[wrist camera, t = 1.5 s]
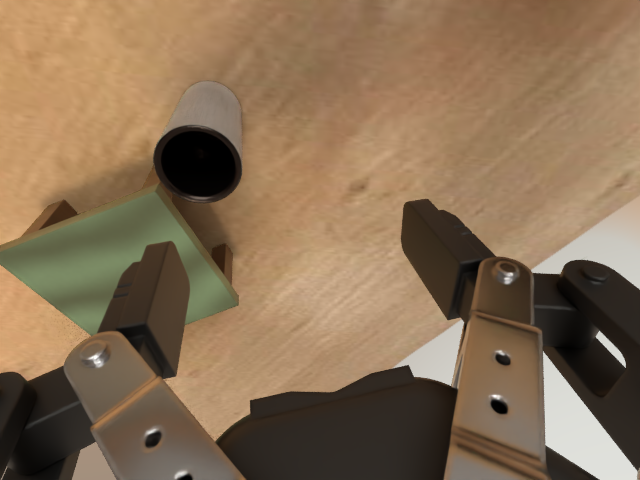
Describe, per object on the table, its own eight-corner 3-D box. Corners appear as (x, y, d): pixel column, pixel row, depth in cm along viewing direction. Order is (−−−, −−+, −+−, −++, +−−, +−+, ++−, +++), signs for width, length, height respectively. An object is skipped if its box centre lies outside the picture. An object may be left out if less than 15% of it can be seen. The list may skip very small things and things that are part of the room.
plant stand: (38, 203, 28) (-11, 256, 22) (172, 150, 28) (155, 191, 22) (132, 295, 35) (112, 352, 30) (239, 254, 35) (238, 305, 29)
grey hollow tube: (239, 80, 25) (238, 124, 17) (244, 139, 28) (245, 202, 20) (174, 79, 25) (142, 125, 16) (186, 141, 27) (163, 206, 19)
